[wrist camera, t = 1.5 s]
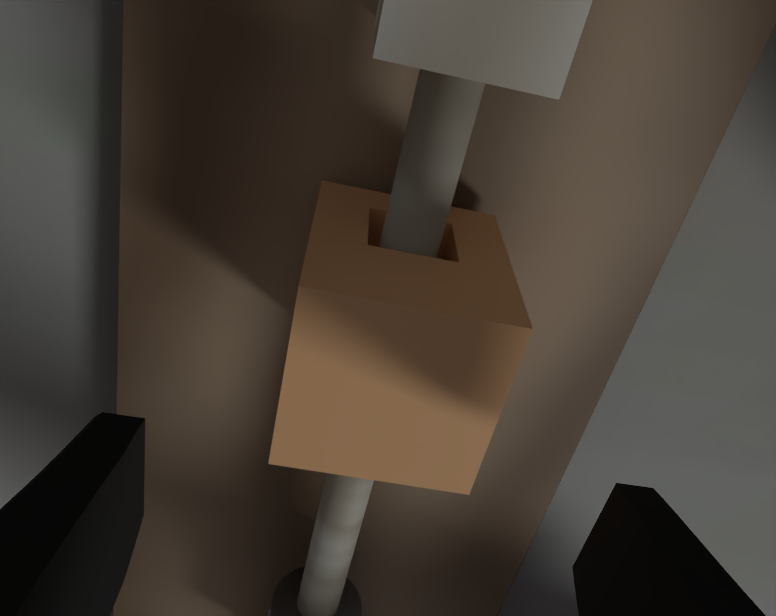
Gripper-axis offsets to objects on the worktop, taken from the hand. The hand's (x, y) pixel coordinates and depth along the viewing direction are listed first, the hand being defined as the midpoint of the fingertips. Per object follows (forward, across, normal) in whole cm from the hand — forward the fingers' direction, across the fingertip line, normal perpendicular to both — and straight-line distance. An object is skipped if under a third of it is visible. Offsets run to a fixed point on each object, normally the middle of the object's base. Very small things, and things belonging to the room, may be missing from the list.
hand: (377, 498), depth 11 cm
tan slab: (+8, 0, +6) cm, 10 cm away
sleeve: (+7, 0, 0) cm, 7 cm away
